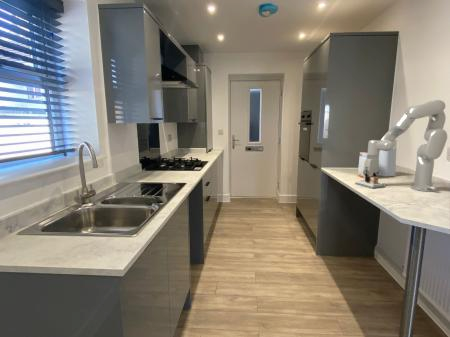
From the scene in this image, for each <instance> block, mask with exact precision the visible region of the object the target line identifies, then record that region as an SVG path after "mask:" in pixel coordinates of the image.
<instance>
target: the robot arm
mask: <svg viewBox="0 0 450 337" xmlns="http://www.w3.org/2000/svg"><path fill="white" fill-rule="evenodd" d="M445 109H446V103H445V102H444V101H443V100H441V99H436V100H430V101H427V102H426V103H422V104H418V105H413V106H409V107H407V108H406V109H405V110H404V111H403V112H402V114H401V115H400V116H399V117H398V119H397V121H396V122H395V123H394V124H393V126H391V127H390V128H389V130H387V132H386V133H385V134H384V135H383V137H382V138H381V139H380V140H378V139H371V140H369V141H368V144H367V159H366V161H365V165H364V171H363V173H364V175H365V182H369V178H370V177H369V175H370V173H373V175H372V176H375V177H378V176H377V175H378V173H379V172H380V170H379V152H380V150H382V151H390V150H392V149H393V147H394V146H395V145H394V141H395V140H396V139H397V138H398V137H399V136H401V135H403V134H404V133H406V132H407V131H408V130H409V128H410V126H412V124H413V123H414V122H415V121H416V119H422V118H425V117H426V118H427V117H428V123H427V126H426V129H425V131H424V134H423V135H424V136H423V139H424V140H425V141H426V143H424V144H421V145H420V146H419V147H418V148H417V150H416V165H415V172H414V181H413V185H410V190H413V191H414V190H415V191H418V192H420V191H421V192H433V191H436V190H437V186H434V184H433V183H432V180H433V174H434V166H435V160H437V159H438V158H440V157H441V155H442V154H443V151H444V149H445V145H446V143H447V140H448V134H447V131H446V130H445V129H444V126H445V123H446V119H447V118H446V113H445V111H444V110H445ZM367 173H368V174H367Z"/></svg>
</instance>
